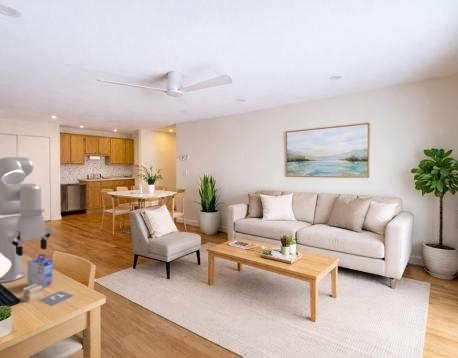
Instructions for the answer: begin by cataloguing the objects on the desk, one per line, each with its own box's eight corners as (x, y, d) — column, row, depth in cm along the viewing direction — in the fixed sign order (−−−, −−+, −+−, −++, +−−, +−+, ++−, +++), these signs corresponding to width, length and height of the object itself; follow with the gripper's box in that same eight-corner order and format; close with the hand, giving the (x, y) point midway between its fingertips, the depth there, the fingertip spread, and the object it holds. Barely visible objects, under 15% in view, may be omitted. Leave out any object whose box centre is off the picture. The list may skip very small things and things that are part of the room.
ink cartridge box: (53, 283, 136) (53, 254, 135) (44, 288, 130) (43, 258, 129) (37, 281, 138) (36, 253, 137) (26, 286, 132) (26, 256, 131)
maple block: (23, 297, 120) (23, 288, 120) (35, 292, 125) (35, 283, 125) (30, 299, 118) (30, 290, 118) (42, 294, 123) (42, 286, 122)
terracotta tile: (19, 298, 120) (19, 297, 120) (36, 292, 126) (36, 291, 126) (29, 302, 117) (29, 301, 117) (46, 295, 123) (46, 294, 123)
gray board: (37, 300, 118) (37, 300, 118) (60, 291, 127) (60, 290, 127) (52, 306, 114) (52, 305, 114) (74, 295, 123) (74, 295, 123)
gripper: (46, 209, 129) (47, 245, 130) (3, 215, 113) (4, 256, 114) (56, 211, 126) (57, 247, 127) (13, 217, 110) (14, 259, 111)
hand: (32, 251), depth 121 cm, fingers open, 9 cm apart
